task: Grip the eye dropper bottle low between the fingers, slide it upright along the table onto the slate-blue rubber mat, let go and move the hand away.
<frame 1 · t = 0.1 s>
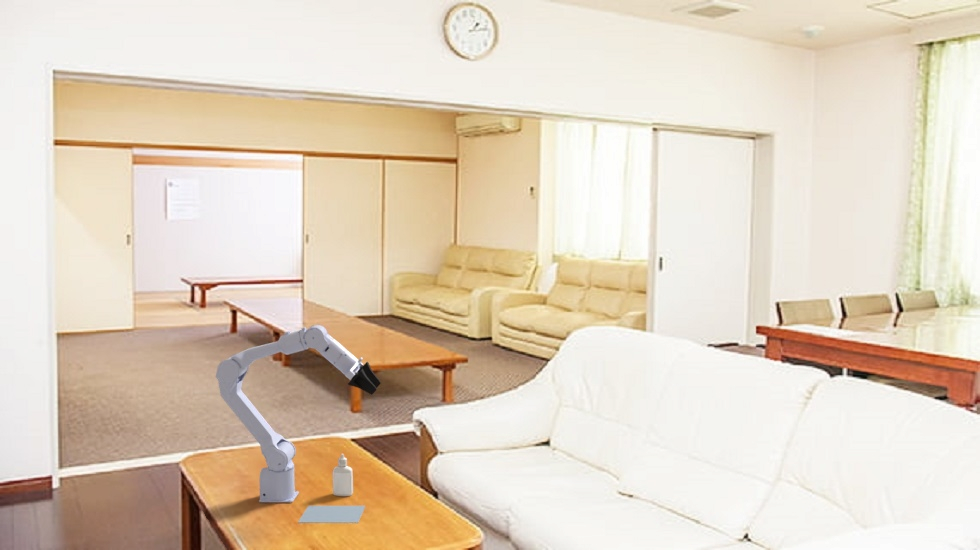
hand: (376, 388, 230), 32 cm above the table, tool tilted 50°, fingers open, 7 cm apart
mat: (332, 514, 221), on the table
eye dropper bottle: (343, 495, 236), on the table
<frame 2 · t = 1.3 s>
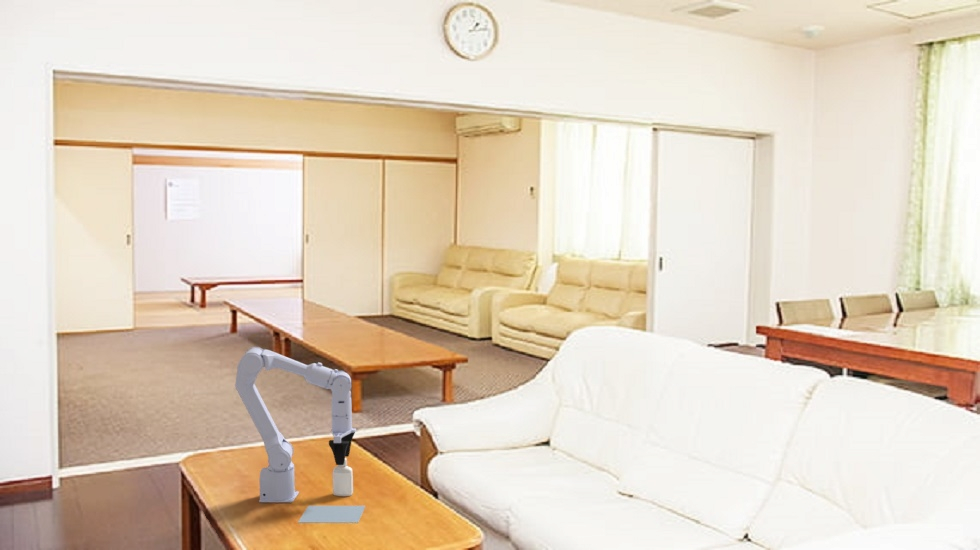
hand: (342, 460, 235), 10 cm above the table, tool pointing down, fingers open, 7 cm apart
nothing on the table moved.
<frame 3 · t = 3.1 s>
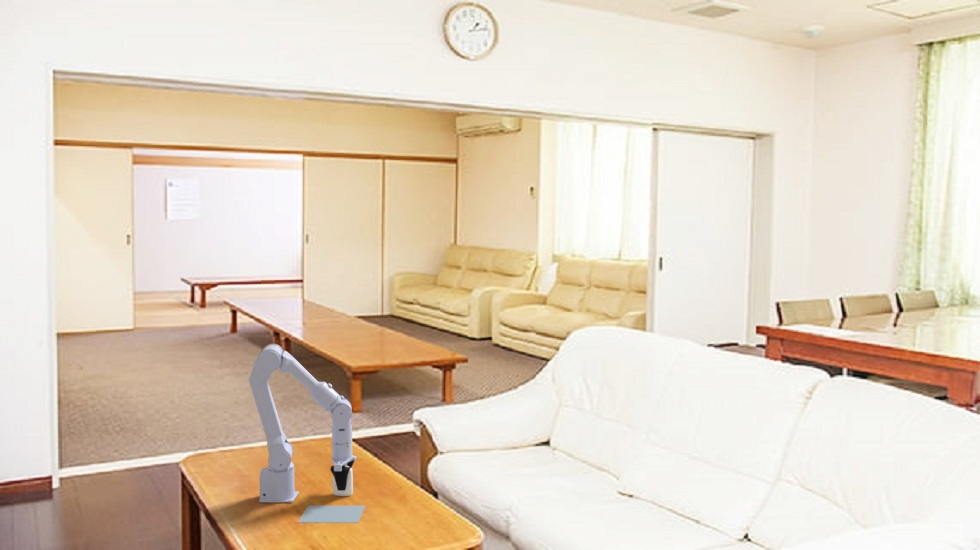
hand: (343, 487, 236), 2 cm above the table, tool pointing down, fingers closed on eye dropper bottle, 3 cm apart
eye dropper bottle: (343, 495, 236), on the table, touching gripper
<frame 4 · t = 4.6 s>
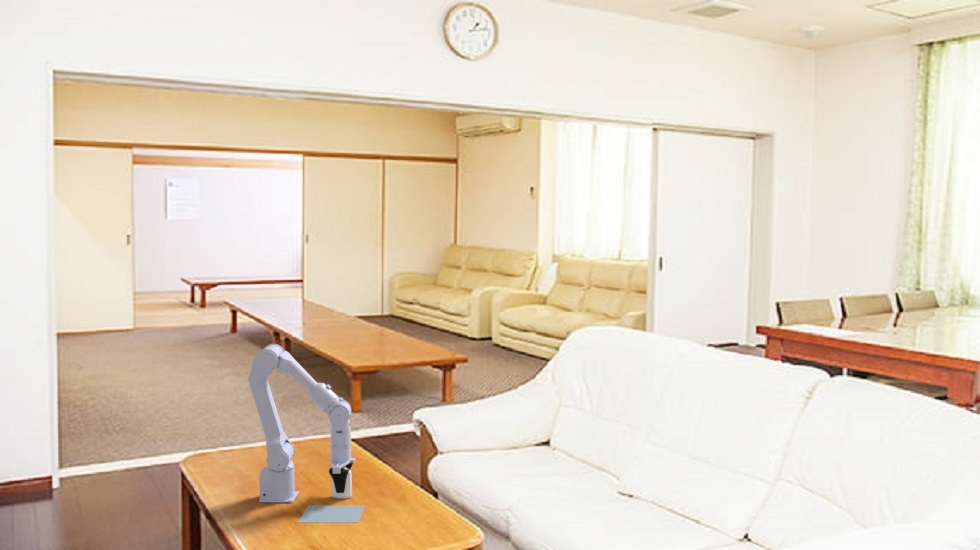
hand: (341, 490, 234), 2 cm above the table, tool pointing down, fingers closed on eye dropper bottle, 3 cm apart
eye dropper bottle: (341, 497, 234), on the table, touching gripper
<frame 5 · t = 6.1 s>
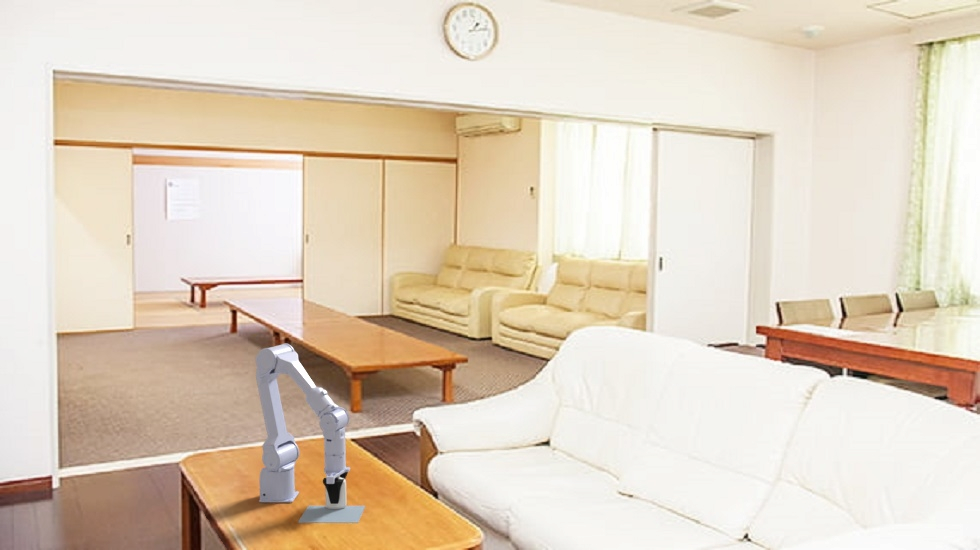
hand: (336, 500, 226), 2 cm above the table, tool pointing down, fingers closed on eye dropper bottle, 3 cm apart
eye dropper bottle: (336, 507, 226), on the table, touching gripper, mat
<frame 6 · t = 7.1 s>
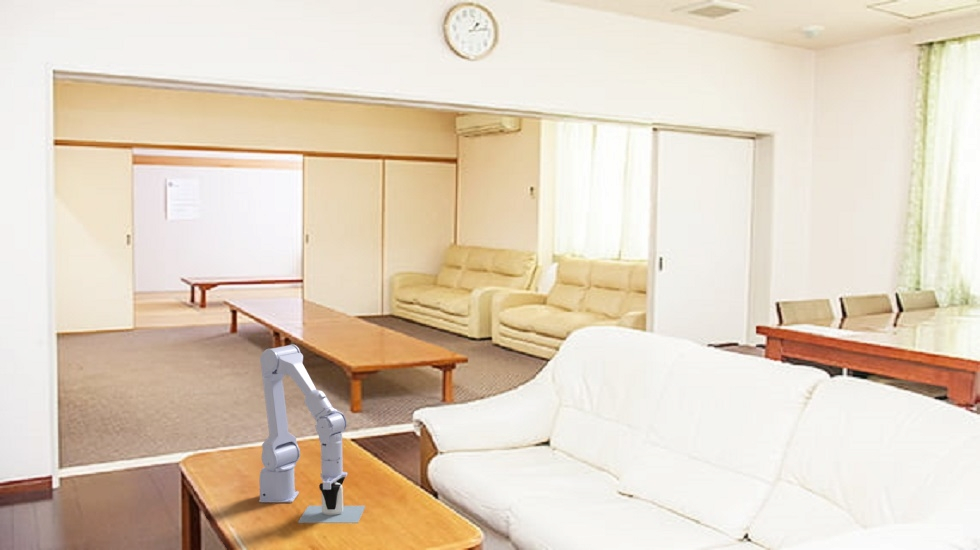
hand: (332, 506, 221), 2 cm above the table, tool pointing down, fingers open, 3 cm apart
eye dropper bottle: (332, 513, 222), resting on mat, touching gripper
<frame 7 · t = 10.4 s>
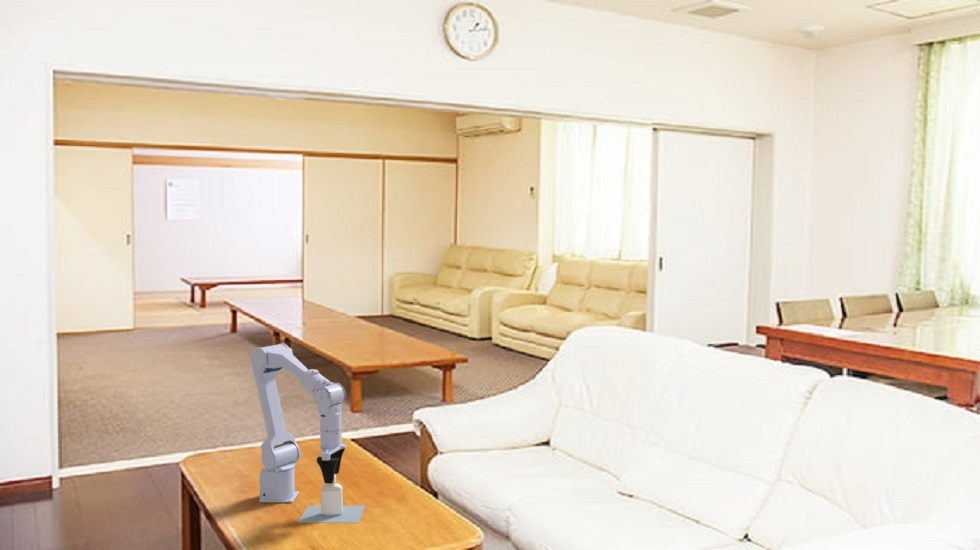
hand: (331, 478, 220), 10 cm above the table, tool pointing down, fingers open, 7 cm apart
eye dropper bottle: (332, 514, 221), resting on mat
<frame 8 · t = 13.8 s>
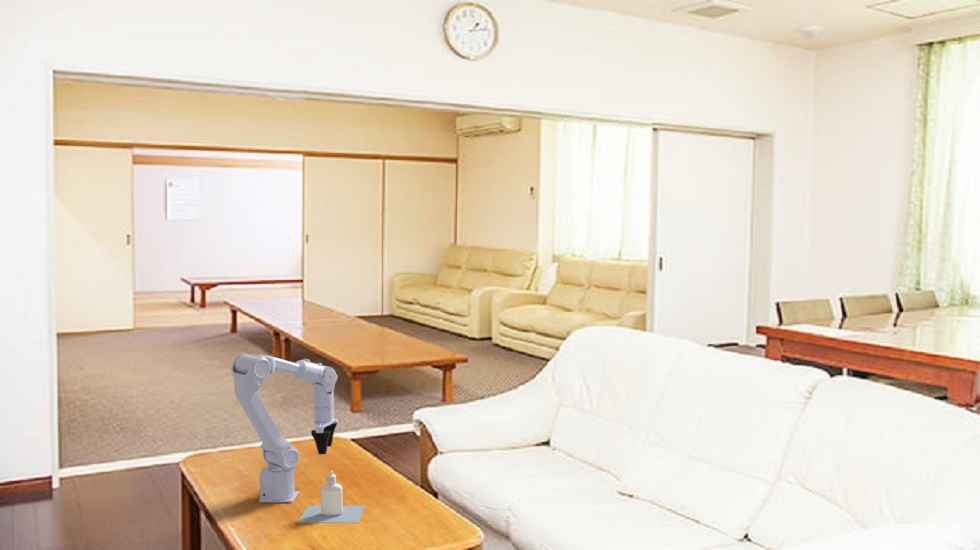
hand: (325, 449, 244), 10 cm above the table, tool pointing down, fingers open, 7 cm apart
nothing on the table moved.
at the end: eye dropper bottle inside the target area on the mat (0.1 cm from its centre), point 0.0 cm above the mat's base; eye dropper bottle tilted 0°; the gripper is holding nothing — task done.
